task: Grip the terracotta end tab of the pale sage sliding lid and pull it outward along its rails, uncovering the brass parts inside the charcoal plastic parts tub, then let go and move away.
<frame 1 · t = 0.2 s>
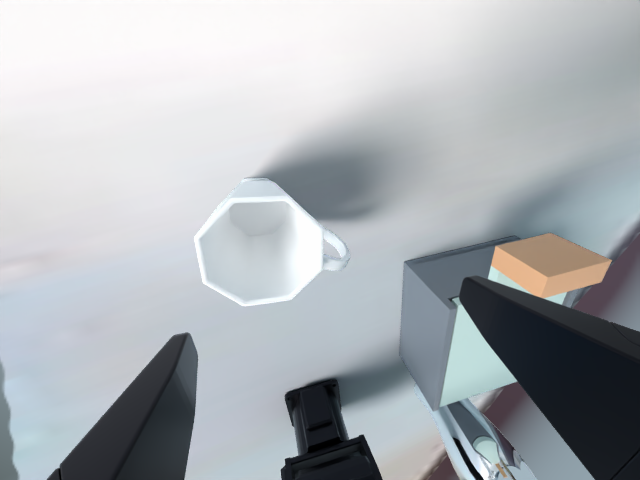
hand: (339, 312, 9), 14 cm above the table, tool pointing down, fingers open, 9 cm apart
tub: (452, 299, 32), on the table
beer glass: (432, 380, 39), on the table
lid: (518, 341, 24), point 8 cm above the table, slide at 0.0 cm
cup: (275, 208, 22), on the table
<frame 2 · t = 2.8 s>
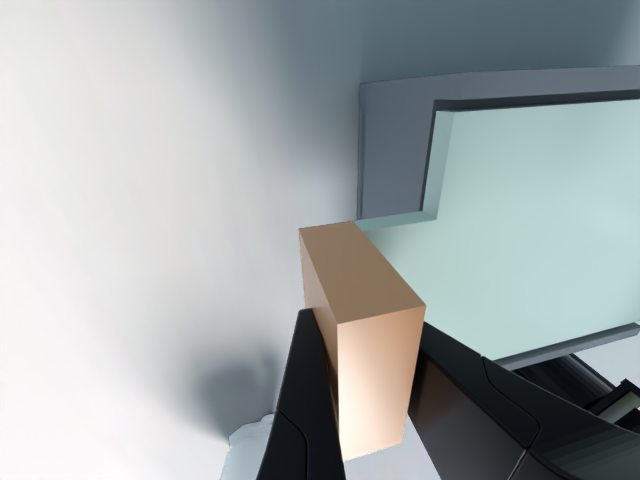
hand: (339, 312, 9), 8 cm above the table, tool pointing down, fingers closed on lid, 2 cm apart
tub: (463, 198, 17), on the table
lid: (570, 280, 10), point 8 cm above the table, slide at 0.0 cm, touching gripper
cup: (261, 423, 23), on the table
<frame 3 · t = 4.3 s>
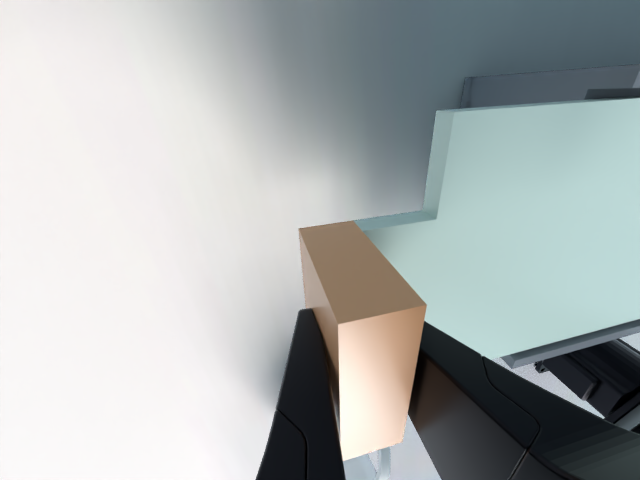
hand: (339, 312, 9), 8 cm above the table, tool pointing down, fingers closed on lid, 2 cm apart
tub: (537, 186, 18), on the table
lid: (570, 279, 10), point 8 cm above the table, slide at 5.7 cm, touching gripper
cup: (327, 405, 24), on the table
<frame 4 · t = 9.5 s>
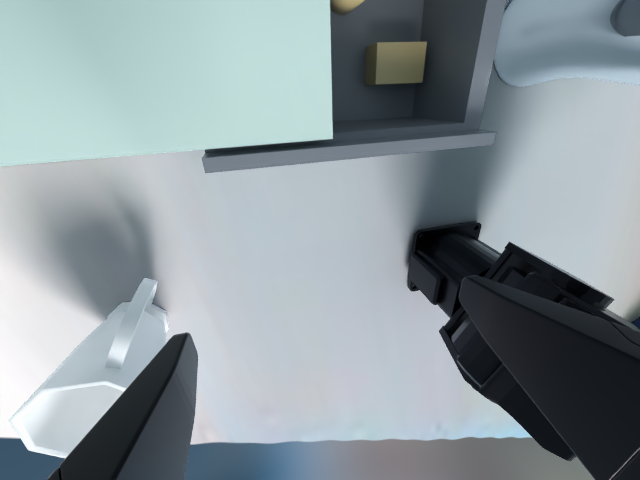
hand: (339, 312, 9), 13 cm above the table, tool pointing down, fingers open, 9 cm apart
tub: (321, 18, 16), on the table
beer glass: (528, 37, 19), on the table
cup: (145, 306, 22), on the table
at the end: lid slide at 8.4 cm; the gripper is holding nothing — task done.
